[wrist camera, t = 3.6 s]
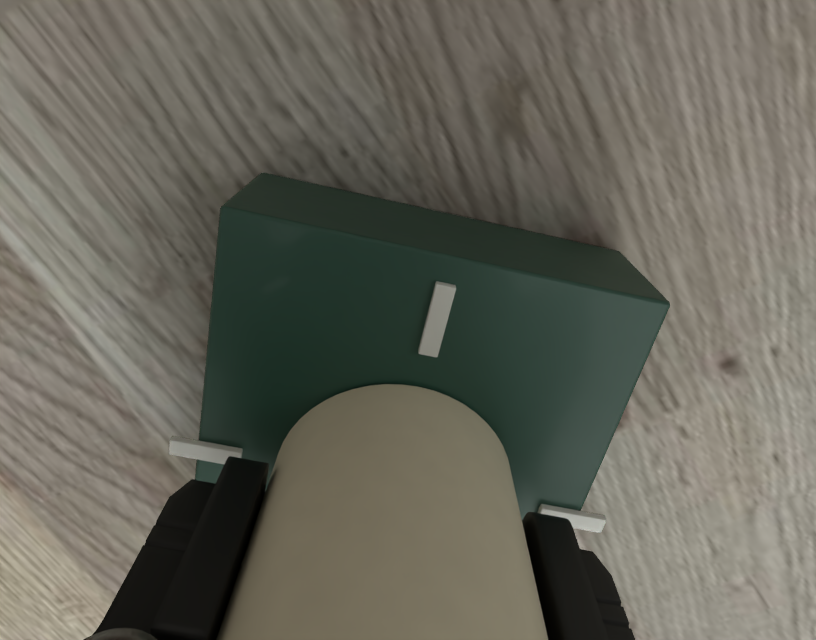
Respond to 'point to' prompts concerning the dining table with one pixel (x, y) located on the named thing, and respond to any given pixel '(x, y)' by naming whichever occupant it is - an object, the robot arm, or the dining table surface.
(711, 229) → the dining table surface
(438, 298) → the dial panel
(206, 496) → the robot arm
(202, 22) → the dining table surface
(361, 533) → the dial
